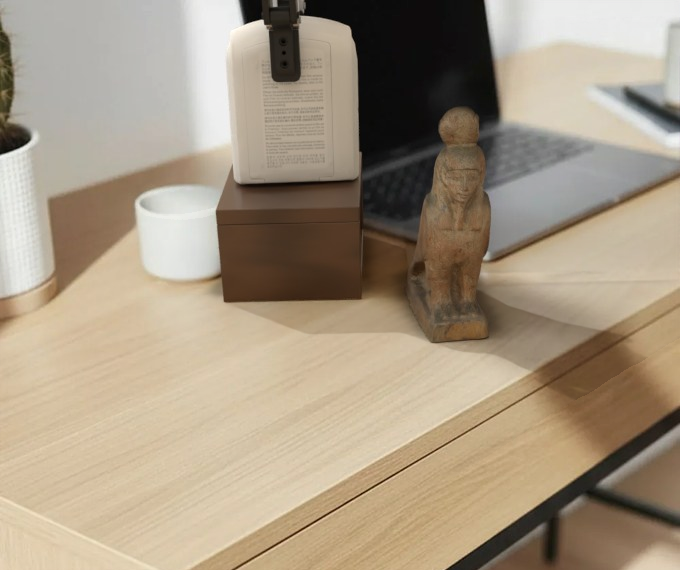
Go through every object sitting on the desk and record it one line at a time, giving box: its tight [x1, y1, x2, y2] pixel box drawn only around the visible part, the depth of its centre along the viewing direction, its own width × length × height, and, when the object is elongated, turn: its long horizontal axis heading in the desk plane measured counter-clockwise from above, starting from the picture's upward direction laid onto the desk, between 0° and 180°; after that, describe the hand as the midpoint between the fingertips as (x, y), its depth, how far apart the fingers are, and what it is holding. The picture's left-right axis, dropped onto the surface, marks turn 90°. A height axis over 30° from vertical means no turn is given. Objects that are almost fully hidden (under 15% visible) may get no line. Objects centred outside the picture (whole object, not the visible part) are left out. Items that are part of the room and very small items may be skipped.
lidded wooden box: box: [215, 151, 365, 303], centre depth 100 cm, size 11×15×8 cm
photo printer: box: [225, 15, 360, 184], centre depth 94 cm, size 10×4×12 cm, turn 93°
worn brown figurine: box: [404, 105, 492, 343], centre depth 88 cm, size 12×6×18 cm, turn 2°
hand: (288, 72), depth 93 cm, fingers closed on photo printer, 4 cm apart
